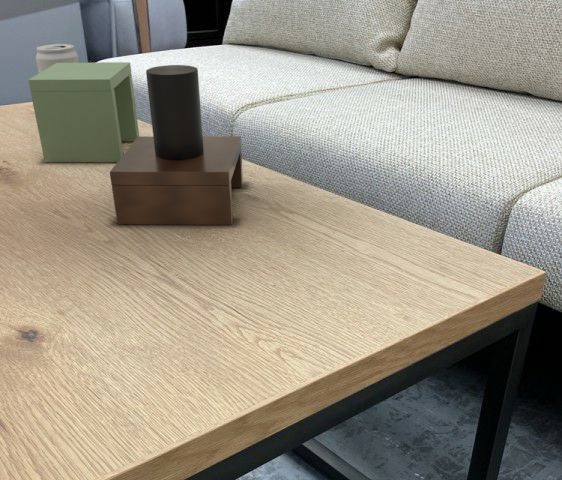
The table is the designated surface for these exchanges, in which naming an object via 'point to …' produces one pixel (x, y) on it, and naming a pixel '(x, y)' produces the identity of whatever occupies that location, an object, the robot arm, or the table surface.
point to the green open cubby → (84, 111)
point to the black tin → (175, 111)
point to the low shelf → (177, 184)
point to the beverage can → (55, 55)
